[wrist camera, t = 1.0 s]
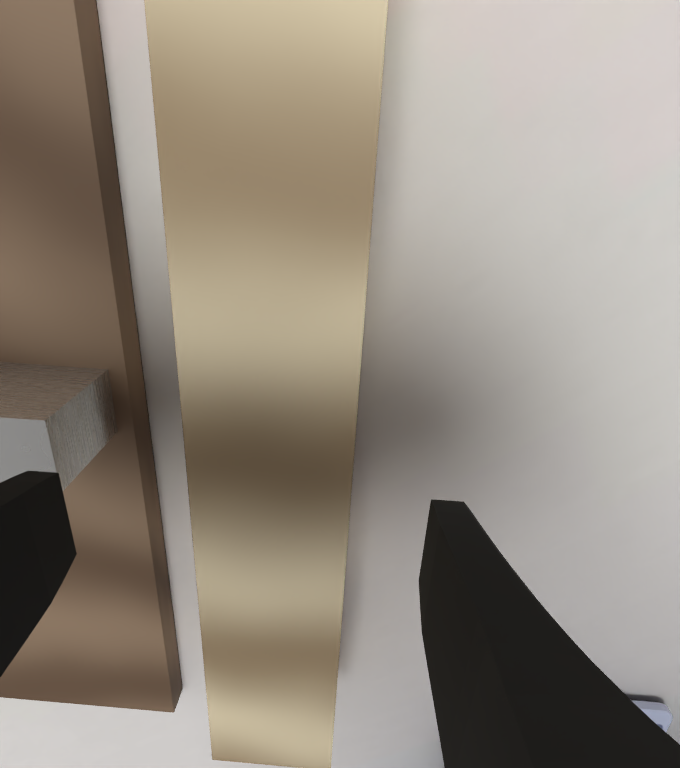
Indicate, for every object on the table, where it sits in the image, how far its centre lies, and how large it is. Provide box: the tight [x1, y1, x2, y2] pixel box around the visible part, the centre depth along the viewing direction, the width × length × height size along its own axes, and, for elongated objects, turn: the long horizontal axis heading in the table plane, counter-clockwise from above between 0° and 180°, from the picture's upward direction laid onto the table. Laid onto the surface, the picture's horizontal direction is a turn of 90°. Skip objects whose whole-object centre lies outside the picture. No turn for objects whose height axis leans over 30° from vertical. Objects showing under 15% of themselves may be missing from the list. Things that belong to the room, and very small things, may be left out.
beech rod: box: [144, 0, 388, 768], centre depth 14 cm, size 24×4×4 cm, turn 177°
